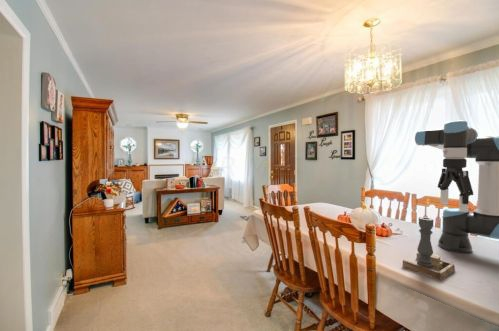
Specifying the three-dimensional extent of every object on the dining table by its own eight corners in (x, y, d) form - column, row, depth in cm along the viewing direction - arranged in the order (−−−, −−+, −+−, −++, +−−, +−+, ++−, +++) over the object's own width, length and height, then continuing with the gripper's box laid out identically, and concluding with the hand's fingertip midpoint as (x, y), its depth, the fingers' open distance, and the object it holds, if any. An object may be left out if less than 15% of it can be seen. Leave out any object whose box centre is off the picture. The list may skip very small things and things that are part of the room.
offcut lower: (423, 262, 123) (423, 256, 123) (442, 268, 116) (442, 262, 116) (418, 265, 120) (419, 259, 120) (438, 271, 113) (438, 265, 113)
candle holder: (425, 266, 118) (427, 216, 117) (436, 272, 112) (437, 220, 110) (413, 266, 118) (414, 216, 116) (423, 273, 111) (424, 220, 110)
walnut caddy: (417, 258, 127) (417, 252, 127) (454, 270, 114) (454, 264, 114) (402, 266, 118) (402, 260, 118) (440, 280, 105) (440, 273, 105)
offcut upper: (423, 257, 122) (423, 251, 122) (440, 262, 117) (440, 256, 116) (420, 259, 119) (420, 254, 119) (437, 264, 114) (438, 258, 114)
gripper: (429, 157, 113) (428, 201, 115) (463, 159, 89) (461, 215, 90) (447, 157, 112) (446, 201, 113) (487, 159, 87) (485, 215, 89)
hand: (453, 207), depth 102 cm, fingers open, 13 cm apart
